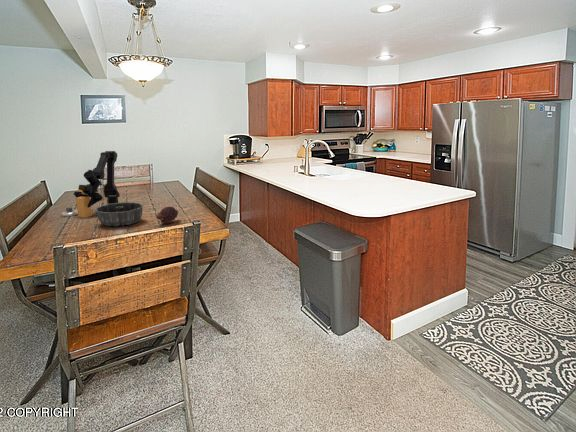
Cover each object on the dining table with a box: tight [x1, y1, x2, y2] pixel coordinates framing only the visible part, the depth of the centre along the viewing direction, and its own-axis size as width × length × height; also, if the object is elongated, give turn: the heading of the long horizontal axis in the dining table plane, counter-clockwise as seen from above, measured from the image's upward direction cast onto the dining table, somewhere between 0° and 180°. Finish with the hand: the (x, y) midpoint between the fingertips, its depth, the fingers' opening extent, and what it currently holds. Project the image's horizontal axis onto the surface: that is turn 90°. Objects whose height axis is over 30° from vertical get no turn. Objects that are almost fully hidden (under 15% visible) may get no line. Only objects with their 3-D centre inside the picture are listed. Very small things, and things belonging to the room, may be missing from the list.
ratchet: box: [61, 206, 94, 218], centre depth 253 cm, size 22×9×5 cm, turn 163°
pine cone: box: [155, 206, 179, 225], centre depth 226 cm, size 18×10×10 cm, turn 157°
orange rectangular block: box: [75, 196, 93, 219], centre depth 242 cm, size 6×6×12 cm
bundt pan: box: [94, 201, 144, 227], centre depth 226 cm, size 26×26×10 cm
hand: (82, 206), depth 241 cm, fingers open, 9 cm apart
